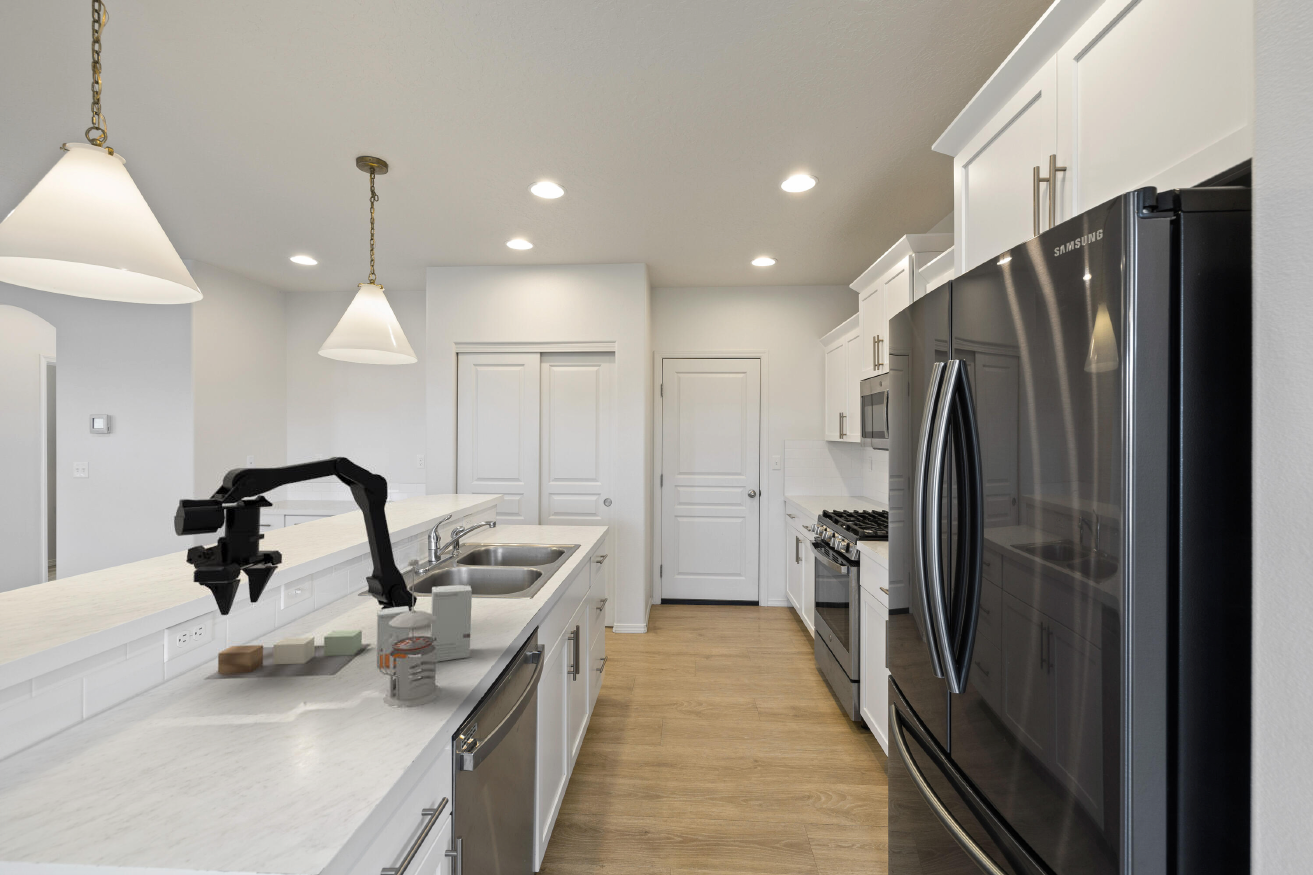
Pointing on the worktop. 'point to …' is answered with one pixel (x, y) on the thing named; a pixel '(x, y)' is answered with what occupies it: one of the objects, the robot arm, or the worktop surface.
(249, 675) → the slate board
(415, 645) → the french press
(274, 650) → the cream brick
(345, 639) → the sage brick
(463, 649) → the skincare box
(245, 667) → the walnut brick
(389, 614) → the skincare box
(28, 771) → the worktop surface
